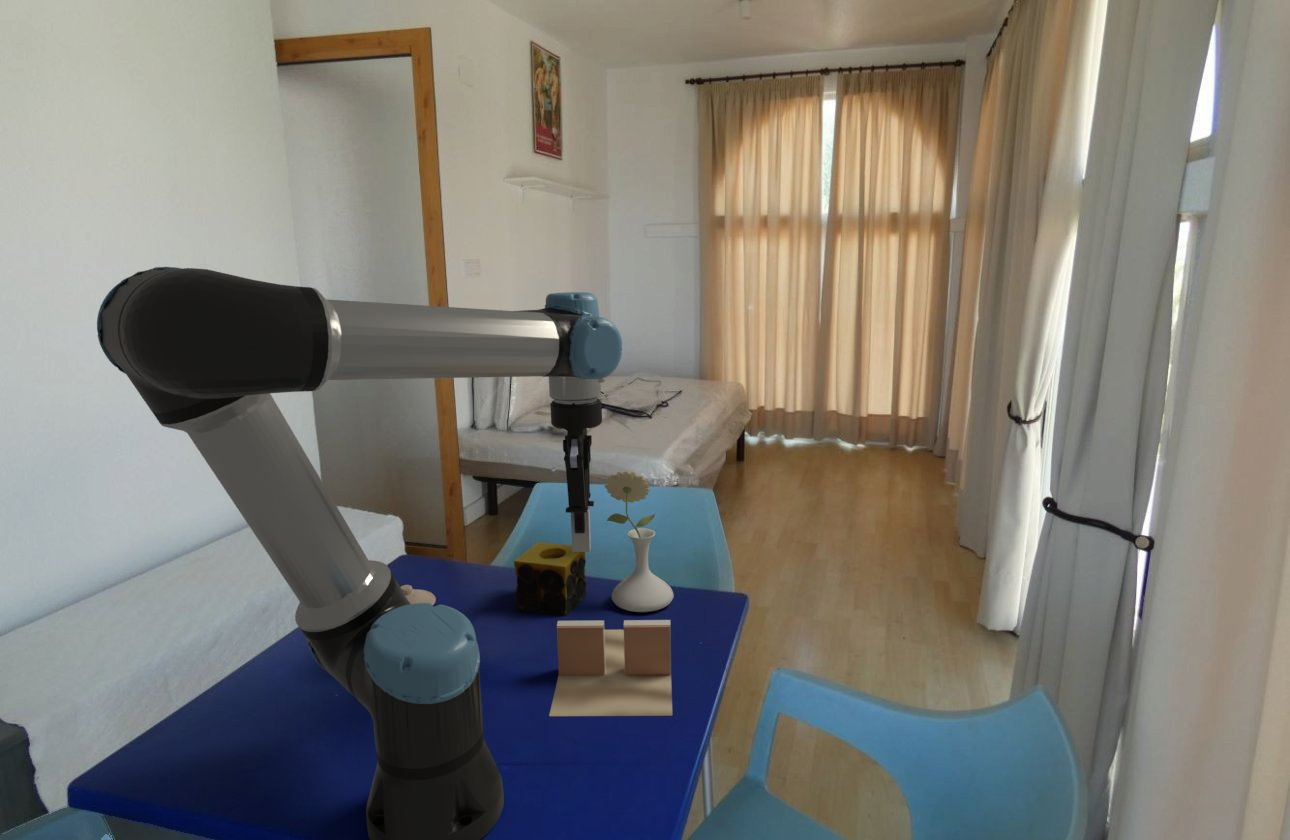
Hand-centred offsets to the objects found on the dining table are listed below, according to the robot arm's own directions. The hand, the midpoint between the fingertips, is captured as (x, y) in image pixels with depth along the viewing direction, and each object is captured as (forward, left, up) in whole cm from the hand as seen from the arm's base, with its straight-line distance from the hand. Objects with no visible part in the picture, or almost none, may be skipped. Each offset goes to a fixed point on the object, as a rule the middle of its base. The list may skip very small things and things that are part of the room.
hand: (581, 549), depth 113 cm
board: (-4, -5, -18) cm, 19 cm away
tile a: (-5, 0, -18) cm, 18 cm away
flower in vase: (+19, -8, -19) cm, 28 cm away
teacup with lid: (+2, +27, -19) cm, 33 cm away
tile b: (-5, -10, -18) cm, 21 cm away
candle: (+19, +8, -19) cm, 28 cm away
